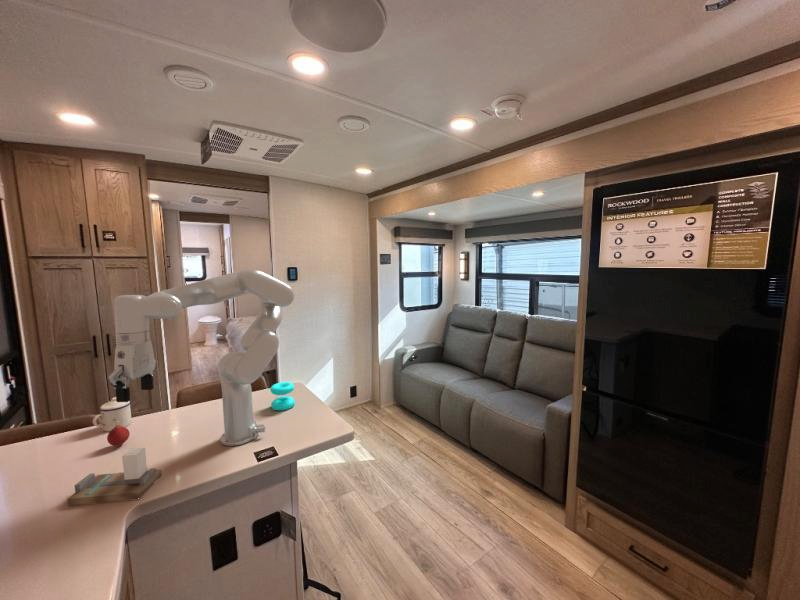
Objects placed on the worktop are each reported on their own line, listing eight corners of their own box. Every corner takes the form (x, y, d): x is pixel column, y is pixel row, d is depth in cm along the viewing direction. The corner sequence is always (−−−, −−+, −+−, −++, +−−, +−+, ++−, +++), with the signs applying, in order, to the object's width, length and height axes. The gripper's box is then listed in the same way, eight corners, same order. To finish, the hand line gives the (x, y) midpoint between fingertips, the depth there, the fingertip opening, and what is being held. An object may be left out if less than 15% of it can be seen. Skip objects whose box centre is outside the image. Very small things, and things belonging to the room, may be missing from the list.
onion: (117, 451, 110) (115, 429, 109) (103, 449, 111) (101, 427, 110) (134, 442, 115) (132, 421, 114) (121, 441, 116) (119, 419, 116)
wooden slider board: (161, 475, 96) (160, 463, 96) (139, 499, 87) (137, 485, 86) (98, 481, 94) (96, 468, 94) (68, 506, 84) (66, 491, 84)
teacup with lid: (123, 419, 133) (120, 392, 132) (137, 422, 130) (135, 394, 129) (87, 433, 122) (83, 403, 121) (102, 437, 119) (99, 407, 118)
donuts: (293, 387, 140) (268, 390, 137) (294, 410, 141) (269, 412, 138) (294, 380, 149) (271, 382, 147) (295, 401, 150) (273, 403, 148)
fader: (148, 475, 93) (145, 447, 92) (140, 483, 89) (137, 454, 89) (133, 477, 92) (130, 448, 92) (124, 485, 89) (121, 455, 88)
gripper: (124, 343, 85) (127, 406, 86) (165, 332, 102) (168, 385, 103) (93, 343, 84) (97, 407, 85) (140, 332, 101) (143, 385, 103)
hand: (136, 395), depth 94 cm, fingers open, 9 cm apart
